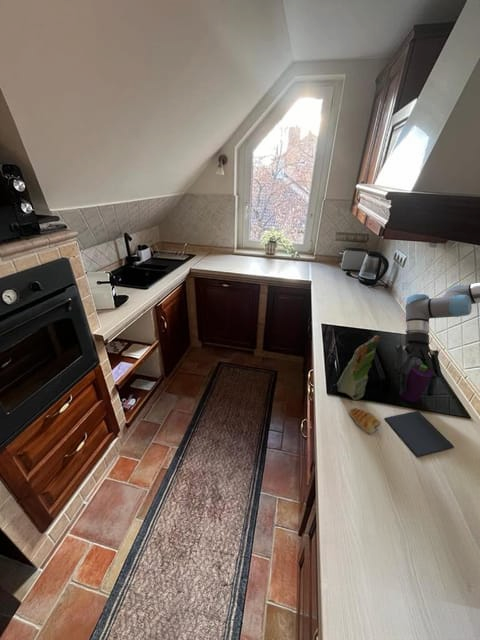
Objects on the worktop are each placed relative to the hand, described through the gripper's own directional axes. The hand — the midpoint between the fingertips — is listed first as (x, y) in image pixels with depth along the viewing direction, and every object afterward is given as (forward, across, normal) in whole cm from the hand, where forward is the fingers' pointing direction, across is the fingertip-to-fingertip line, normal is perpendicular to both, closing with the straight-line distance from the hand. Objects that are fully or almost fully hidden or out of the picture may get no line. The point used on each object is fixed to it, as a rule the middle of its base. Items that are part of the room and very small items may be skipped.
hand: (416, 393), depth 92 cm
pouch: (+3, +22, -4) cm, 22 cm away
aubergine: (+1, 0, -6) cm, 6 cm away
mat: (+13, +3, +6) cm, 15 cm away
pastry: (+13, +19, +6) cm, 24 cm away
